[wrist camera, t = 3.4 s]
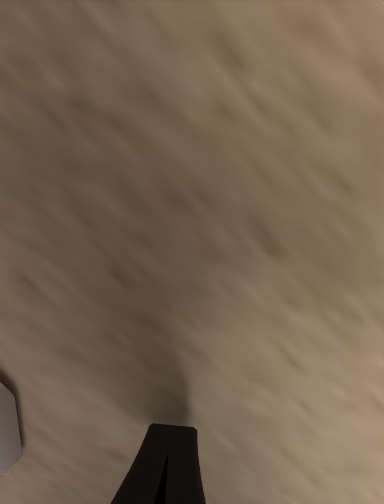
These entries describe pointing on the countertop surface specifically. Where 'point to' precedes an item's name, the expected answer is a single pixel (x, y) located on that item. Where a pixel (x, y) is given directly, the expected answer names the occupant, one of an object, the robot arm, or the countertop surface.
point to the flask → (8, 431)
